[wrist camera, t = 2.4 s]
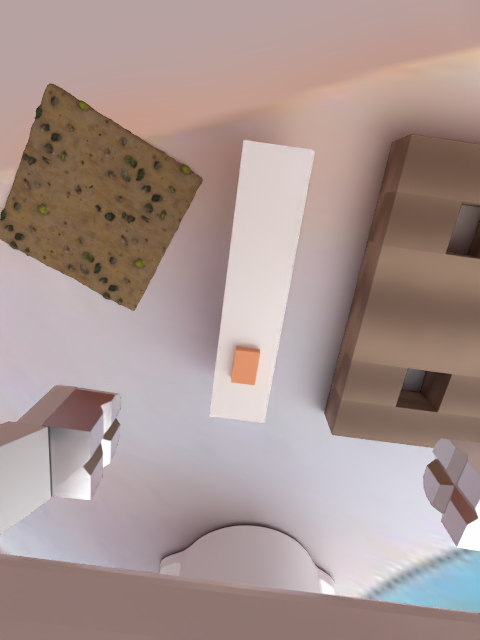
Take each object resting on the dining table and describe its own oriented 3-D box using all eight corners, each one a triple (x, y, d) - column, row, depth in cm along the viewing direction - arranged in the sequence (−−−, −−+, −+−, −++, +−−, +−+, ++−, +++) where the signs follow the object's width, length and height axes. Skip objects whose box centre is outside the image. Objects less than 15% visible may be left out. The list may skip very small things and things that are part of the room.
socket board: (455, 430, 31) (476, 453, 28) (324, 413, 31) (332, 434, 28) (561, 167, 24) (603, 162, 21) (392, 142, 24) (411, 134, 21)
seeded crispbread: (137, 312, 29) (133, 316, 28) (-4, 236, 27) (-12, 237, 26) (206, 178, 25) (205, 178, 24) (50, 80, 23) (43, 76, 23)
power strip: (261, 385, 30) (264, 428, 24) (216, 379, 30) (208, 421, 24) (300, 161, 24) (317, 148, 19) (244, 152, 24) (243, 137, 18)
